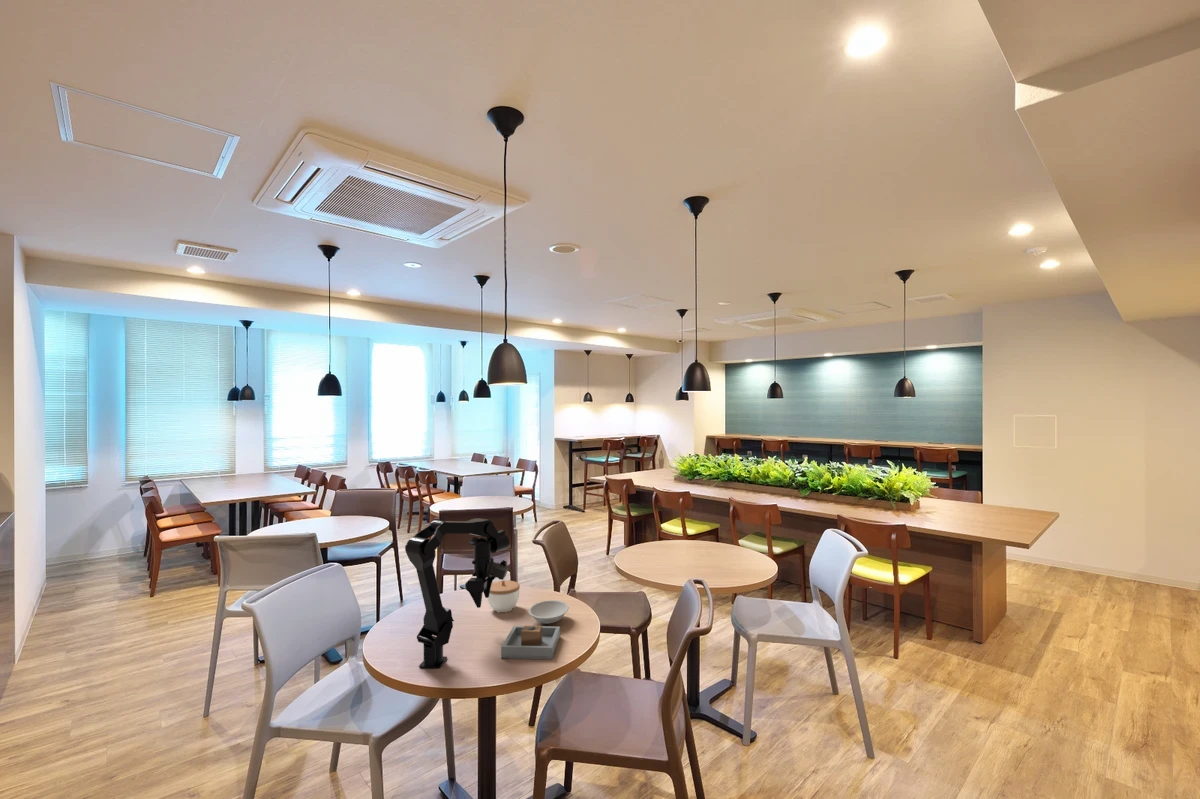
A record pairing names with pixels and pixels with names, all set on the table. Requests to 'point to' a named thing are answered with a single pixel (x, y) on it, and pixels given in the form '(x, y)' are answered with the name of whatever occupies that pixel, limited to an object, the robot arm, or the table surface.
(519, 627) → the tray
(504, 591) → the lidded bowl
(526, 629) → the walnut block
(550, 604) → the dish
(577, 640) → the table surface
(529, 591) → the table surface
